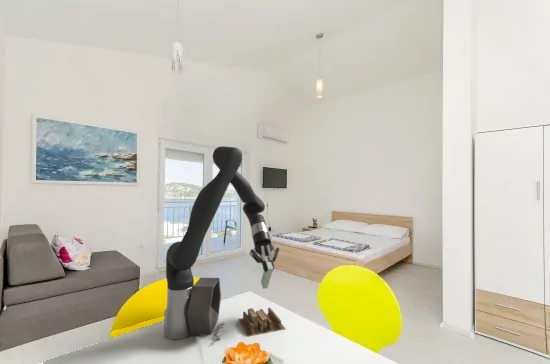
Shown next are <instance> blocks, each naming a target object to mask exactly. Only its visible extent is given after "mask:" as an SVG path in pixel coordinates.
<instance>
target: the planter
mask: <svg viewBox="0 0 550 364" xmlns="http://www.w3.org/2000/svg"><path fill="white" fill-rule="evenodd" d="M220 282H221V281H220V277H200V278H199V279H198V280H197V281H196V282H195V283H194V286H193V288H192V293H191V298H190V303H189V309H188V314H187V317H188V323H189V330H190V335H189V336H192V337H199V336H200V335H213V333H214V330H215V327H216V325H217V323H218V321H219V315H220V307H221V301H222V297H221V296H222V293H221V283H220Z"/></svg>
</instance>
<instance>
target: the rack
mask: <svg viewBox="0 0 550 364" xmlns="http://www.w3.org/2000/svg"><path fill="white" fill-rule="evenodd" d="M259 310H261V311H262V313H263V314H264V315H265V317H266V318H267V328H266V329H263V323H262V322H261V320H260V319H259V317H258V329H257V330H254V325H253V323H252V322H251V320H250V319H249V317H248V313H246V311H243V312H242V317H241V318H238V321H239V324H241V327H242V329H243V331H244V332H245V334H246V336H247V337H253V336H257V335H263V334H268V333H273V332H279V331H283V330H287V329H286V327H285V326H284V325H283V324H282V320H281V319H280V318H279V316H277V314H276V313H275V312H274V310H272V308H271V307H267V313H266V312H265V311H264V309H262V308H259Z"/></svg>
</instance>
